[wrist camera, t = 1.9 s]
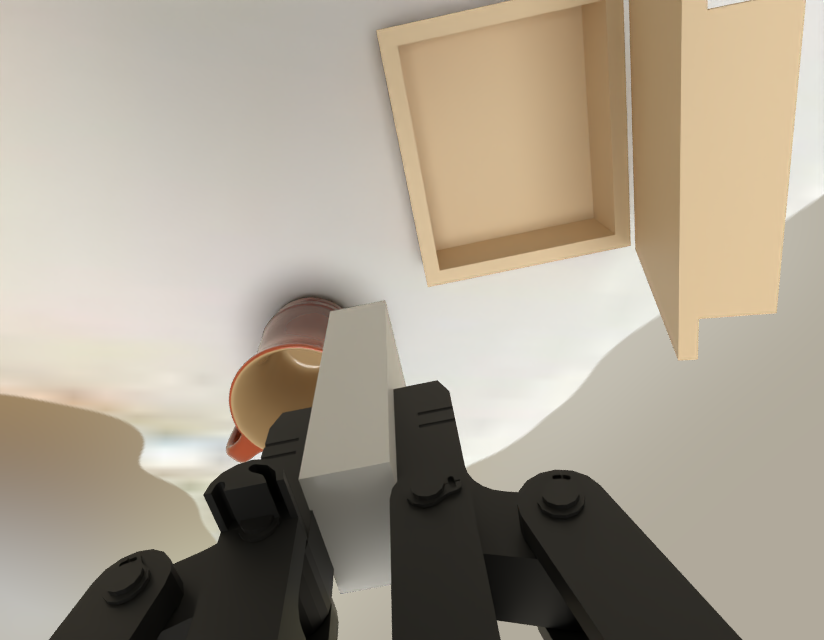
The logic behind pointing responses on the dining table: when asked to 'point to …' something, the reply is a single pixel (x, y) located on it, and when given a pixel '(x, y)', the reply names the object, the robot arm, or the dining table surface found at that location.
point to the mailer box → (512, 133)
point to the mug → (278, 374)
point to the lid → (712, 154)
